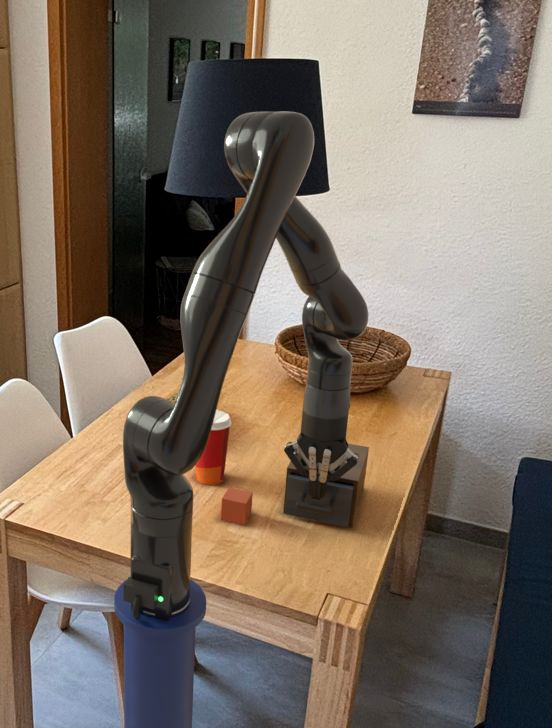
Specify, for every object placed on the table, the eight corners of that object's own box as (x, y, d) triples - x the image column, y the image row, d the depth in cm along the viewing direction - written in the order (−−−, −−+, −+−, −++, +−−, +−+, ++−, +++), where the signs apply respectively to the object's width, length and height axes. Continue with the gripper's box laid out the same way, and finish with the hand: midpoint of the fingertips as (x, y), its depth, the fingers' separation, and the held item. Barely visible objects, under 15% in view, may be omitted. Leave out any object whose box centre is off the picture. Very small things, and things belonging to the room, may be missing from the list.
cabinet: (352, 527, 139) (358, 481, 136) (283, 513, 144) (286, 467, 141) (363, 490, 152) (369, 447, 148) (299, 478, 157) (303, 435, 153)
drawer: (344, 541, 134) (348, 502, 131) (278, 526, 138) (281, 488, 135) (358, 492, 149) (363, 456, 146) (299, 481, 154) (302, 446, 151)
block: (244, 525, 140) (246, 503, 139) (220, 520, 142) (221, 498, 141) (251, 513, 144) (252, 491, 143) (227, 508, 146) (228, 486, 144)
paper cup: (209, 465, 162) (211, 404, 157) (236, 479, 156) (240, 416, 151) (182, 477, 157) (184, 415, 152) (209, 492, 152) (212, 427, 147)
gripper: (281, 410, 129) (274, 500, 136) (363, 423, 124) (352, 515, 131) (291, 394, 136) (284, 480, 142) (369, 405, 130) (358, 495, 137)
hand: (316, 497), depth 136 cm, fingers closed
